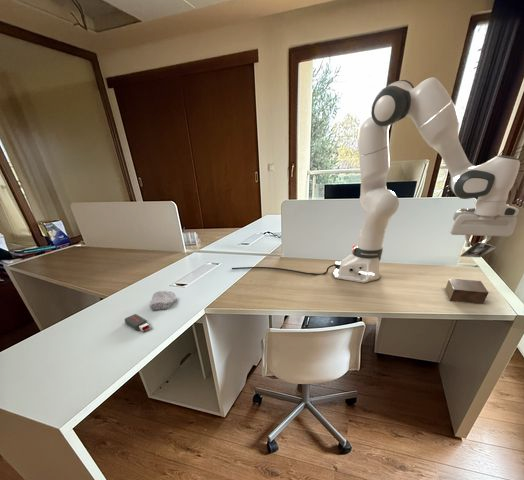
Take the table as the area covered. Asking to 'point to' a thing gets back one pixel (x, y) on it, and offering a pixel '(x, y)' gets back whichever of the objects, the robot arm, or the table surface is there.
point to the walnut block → (466, 291)
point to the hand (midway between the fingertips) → (473, 246)
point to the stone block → (162, 300)
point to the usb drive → (137, 323)
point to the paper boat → (478, 250)
